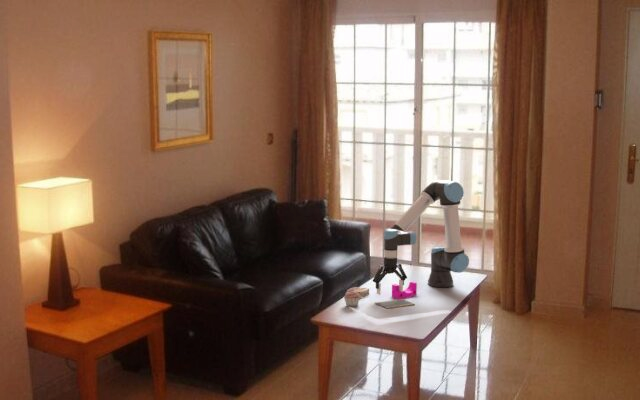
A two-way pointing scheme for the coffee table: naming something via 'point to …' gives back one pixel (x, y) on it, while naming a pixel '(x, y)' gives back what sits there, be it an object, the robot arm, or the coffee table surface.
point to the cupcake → (352, 298)
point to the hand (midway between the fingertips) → (389, 293)
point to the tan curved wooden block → (361, 291)
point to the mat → (394, 303)
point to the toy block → (406, 293)
